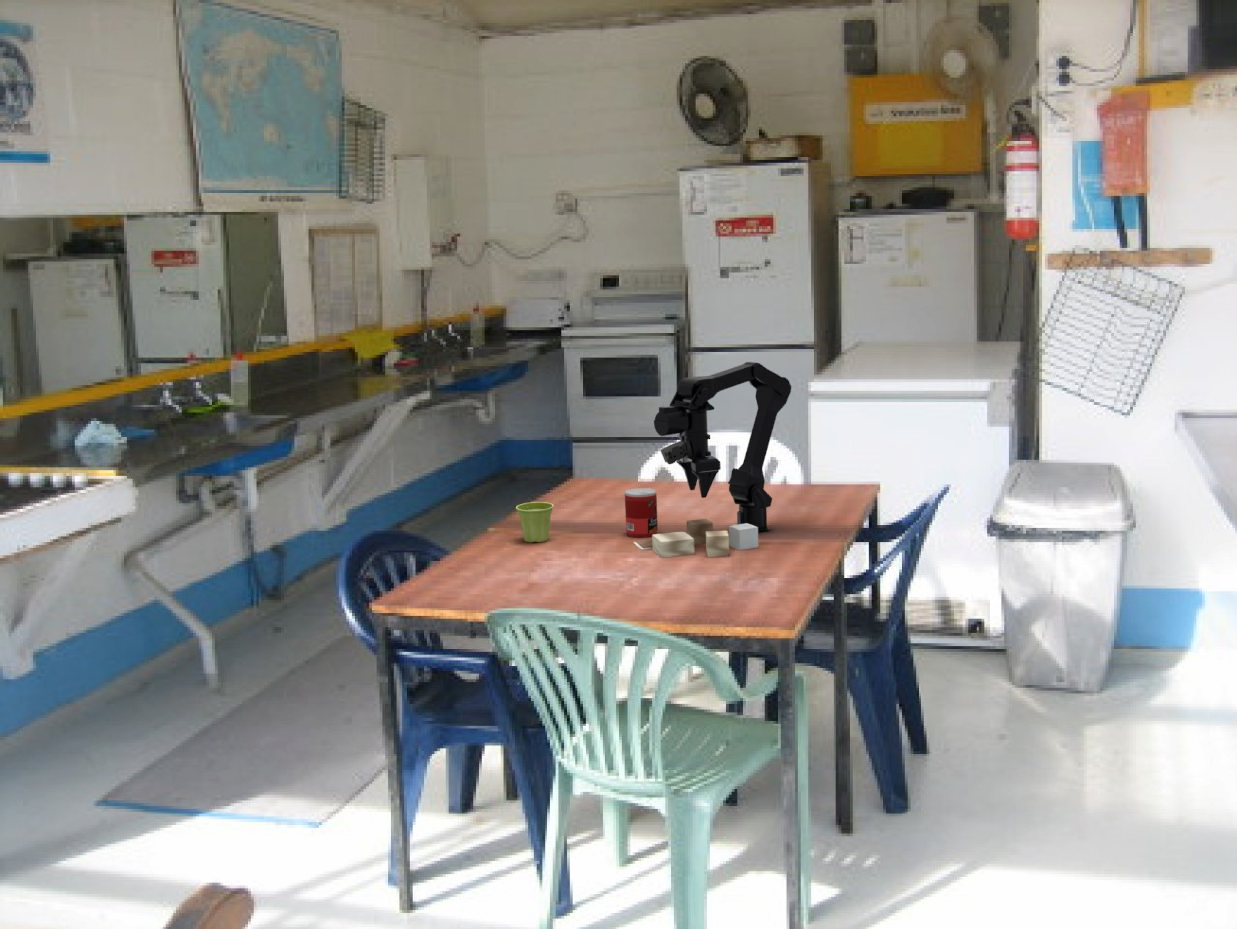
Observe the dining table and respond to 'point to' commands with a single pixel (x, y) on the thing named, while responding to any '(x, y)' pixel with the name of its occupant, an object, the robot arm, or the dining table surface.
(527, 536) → the plant pot
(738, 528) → the grey block
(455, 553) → the dining table surface
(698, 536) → the walnut block
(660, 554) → the cream square block
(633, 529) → the canned food
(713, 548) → the maple block
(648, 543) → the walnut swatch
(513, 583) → the dining table surface
